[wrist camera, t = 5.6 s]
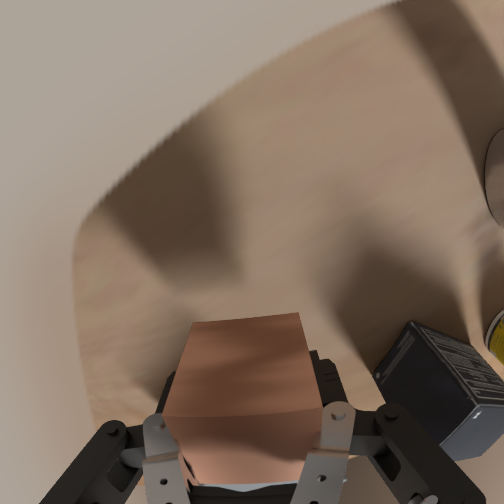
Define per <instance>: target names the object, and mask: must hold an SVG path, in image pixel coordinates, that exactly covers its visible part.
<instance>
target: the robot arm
mask: <svg viewBox="0 0 504 504" xmlns="http://www.w3.org/2000/svg"><path fill="white" fill-rule="evenodd" d="M485 188H486V195H487V200H488V204H489V207H490V210H491V212H492V215H493V217H494V218H495V220H496V221H497V223H498V224H499V225H500V226H502V227H503V228H504V129H502V130H500V131H499V132H498V133H497V134H496V135H495V136H494V138H493V140H492V141H491V143H490V146H489V149H488V152H487V158H486V164H485ZM309 354H310V358H311V362H312V366H313V369H314V373H315V377H316V381H317V385H318V389H319V393H320V397H321V401H322V406H323V414H322V431H318V432H316V435H315V438H314V442H313V445H312V448H310V449H309V451H308V454H307V457H306V460H305V463H304V466H303V469H302V472H301V475H300V478H299V481H298V484H297V483H290V484H280V485H270V486H266V487H263V488H259V489H255V490H251V491H246V492H241V491H236V490H231V489H226V488H222V487H215V486H199V484H198V481H197V478H196V474H195V471H194V469H193V467H192V466H191V465H188V464H187V462H186V460H185V458H184V457H183V455H182V451H181V447H180V444H179V442H178V441H177V439H173V437H172V435H171V433H170V431H169V429H168V427H167V426H166V424H165V422H164V420H163V418H162V413H163V410H164V407H165V404H166V401H167V398H168V395H169V392H170V389H171V386H172V383H173V380H174V377H175V374H176V371H174V372H173V373H172V374H171V375H170V376H169V377H168V378H167V381H166V384H165V387H164V390H163V393H162V395H161V398H160V401H159V404H158V406H157V409H156V412H155V414H152V415H150V416H149V417H147V418H146V419H145V421H144V422H143V424H142V425H138V426H131V427H126V426H125V424H124V423H123V422H121V421H118V420H112V421H108V422H106V423H104V424H103V425H102V426H101V427H100V428H99V430H98V431H97V432H96V433H95V435H94V436H93V437H92V438H91V440H90V441H89V442H88V443H87V445H86V446H85V447H84V448H83V450H82V451H81V452H80V453H79V454H78V456H77V457H76V458H75V459H74V461H73V462H72V463H71V465H70V466H69V467H68V468H67V469H66V471H65V472H64V473H63V474H62V476H61V477H60V478H59V479H58V481H57V482H56V483H55V484H54V486H53V487H52V488H51V489H50V491H49V492H48V493H47V494H46V496H45V497H44V498H43V499H42V501H41V502H40V503H39V504H125V502H126V500H127V499H128V497H129V496H130V494H131V493H132V491H133V489H134V488H135V486H136V485H137V483H138V481H139V480H140V478H141V477H142V475H144V482H145V488H146V495H147V500H148V504H338V501H339V497H340V493H341V489H342V485H343V480H344V476H345V471H346V466H347V462H348V457H349V455H364V456H365V455H366V456H367V457H368V458H369V460H370V461H371V463H372V464H373V465H374V467H375V469H376V470H377V472H378V473H379V474H380V476H381V477H382V479H383V480H384V481H385V483H386V485H387V486H388V487H389V489H390V490H391V492H392V493H393V495H394V496H395V497H396V499H397V500H398V502H399V503H400V504H486V498H485V496H484V494H483V493H482V492H481V491H480V490H479V488H478V487H477V486H476V485H475V484H474V483H473V482H472V481H471V480H470V479H469V477H468V476H466V474H465V473H464V472H463V471H462V470H461V469H460V468H459V466H458V465H457V464H456V463H455V462H454V461H453V460H452V459H451V458H450V456H449V455H448V454H447V453H446V452H445V451H444V450H443V449H442V448H441V447H440V446H439V444H438V443H437V442H436V441H435V440H434V439H433V438H432V437H431V436H430V435H429V434H428V432H427V431H426V430H425V429H424V428H423V427H422V426H421V425H420V424H419V423H418V422H417V420H416V419H415V418H414V417H413V416H412V415H411V414H410V413H409V412H408V411H407V410H406V409H405V408H404V407H403V406H402V405H400V404H397V403H387V404H384V405H382V406H380V407H379V408H378V409H377V411H361V410H357V409H355V408H354V407H353V406H352V405H351V404H349V403H348V400H347V397H346V394H345V391H344V389H343V386H342V383H341V380H340V377H339V374H338V371H337V369H336V366H335V364H334V363H333V362H332V361H331V360H330V359H323V360H320V359H319V356H318V353H317V350H313V351H309ZM112 465H113V466H112Z"/></svg>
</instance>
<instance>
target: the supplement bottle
mask: <svg viewBox="0 0 504 504" xmlns="http://www.w3.org/2000/svg"><path fill="white" fill-rule="evenodd" d="M485 344H486V348H487V349H488V350H489V352H491V353H492V355H494V356H495V357H496V358H497V359H498V360H499V361H500V362H501V363H502V364H503V365H504V310H502V311H501V312H500V313H499V314H498V315H497V316H496V317H495V319H494V320H493V321H492V323H491V325H490V327H489V329H488V332H487V335H486V341H485Z"/></svg>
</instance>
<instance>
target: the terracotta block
mask: <svg viewBox="0 0 504 504" xmlns="http://www.w3.org/2000/svg"><path fill="white" fill-rule="evenodd" d="M322 414H323V406H322V401H321V397H320V393H319V389H318V385H317V381H316V377H315V373H314V369H313V366H312V362H311V358H310V354H309V350H308V346H307V342H306V339H305V335H304V331H303V327H302V324H301V320H300V316H299V312H297V313H289V314H281V315H272V316H263V317H254V318H244V319H233V320H222V321H209V322H196V323H193V325H192V328H191V331H190V333H189V336H188V339H187V342H186V345H185V348H184V351H183V353H182V356H181V359H180V362H179V365H178V368H177V371H176V374H175V377H174V380H173V383H172V386H171V389H170V392H169V395H168V398H167V401H166V404H165V407H164V410H163V413H162V418H163V420H164V422H165V424H166V426H167V427H168V429H169V431H170V433H171V435H172V437H173V439H177V441H178V442H179V444H180V447H181V451H182V455H183V457H184V458H185V460H186V462H187V464H188V465H191V466H192V467H193V469H194V471H195V474H196V478H197V480H198V482H199V483H200V484H259V483H274V482H285V481H294V480H299V478H300V475H301V472H302V469H303V466H304V463H305V460H306V457H307V454H308V451H309V449H310V448H312V445H313V442H314V438H315V435H316V432H318V431H322Z"/></svg>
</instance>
